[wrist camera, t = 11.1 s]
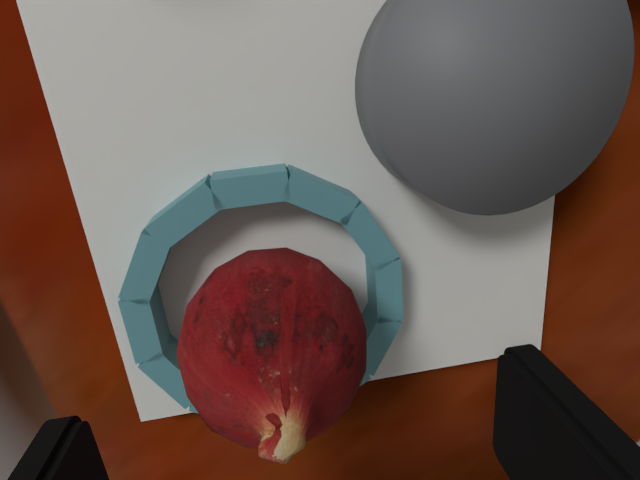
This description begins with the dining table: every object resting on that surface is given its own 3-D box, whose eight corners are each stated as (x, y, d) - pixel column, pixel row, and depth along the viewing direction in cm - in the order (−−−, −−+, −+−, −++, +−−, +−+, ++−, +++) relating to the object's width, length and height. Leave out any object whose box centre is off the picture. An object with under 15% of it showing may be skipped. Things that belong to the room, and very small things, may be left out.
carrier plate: (549, -40, 16) (655, -85, 12) (521, 333, 22) (586, 392, 17) (36, -2, 14) (-54, -39, 10) (148, 397, 20) (121, 481, 15)
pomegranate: (182, 230, 16) (123, 347, 8) (337, 214, 17) (412, 310, 9) (204, 366, 18) (173, 564, 10) (343, 347, 18) (409, 517, 11)
